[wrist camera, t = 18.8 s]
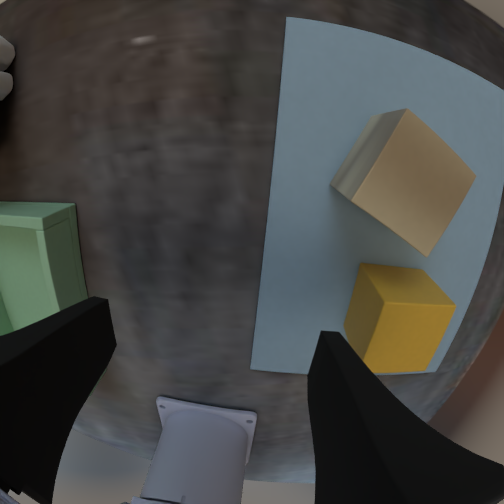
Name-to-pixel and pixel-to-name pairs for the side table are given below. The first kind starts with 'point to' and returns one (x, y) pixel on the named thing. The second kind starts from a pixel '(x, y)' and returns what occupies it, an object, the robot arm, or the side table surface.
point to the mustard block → (396, 318)
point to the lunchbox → (38, 263)
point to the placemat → (343, 210)
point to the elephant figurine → (5, 67)
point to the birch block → (405, 178)
